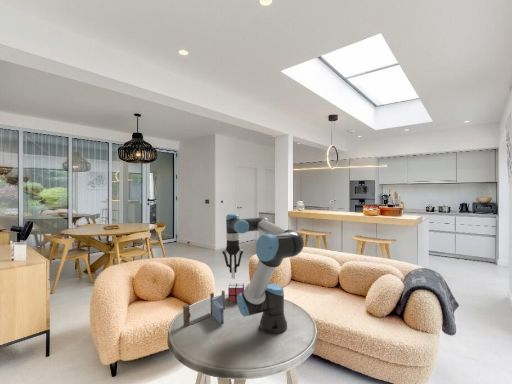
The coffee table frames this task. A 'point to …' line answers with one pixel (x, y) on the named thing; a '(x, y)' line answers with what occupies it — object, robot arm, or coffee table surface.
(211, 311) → the hinge post
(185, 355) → the coffee table surface
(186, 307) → the post
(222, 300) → the fence panel
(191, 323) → the latch line mat
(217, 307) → the gate
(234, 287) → the puzzle cube
